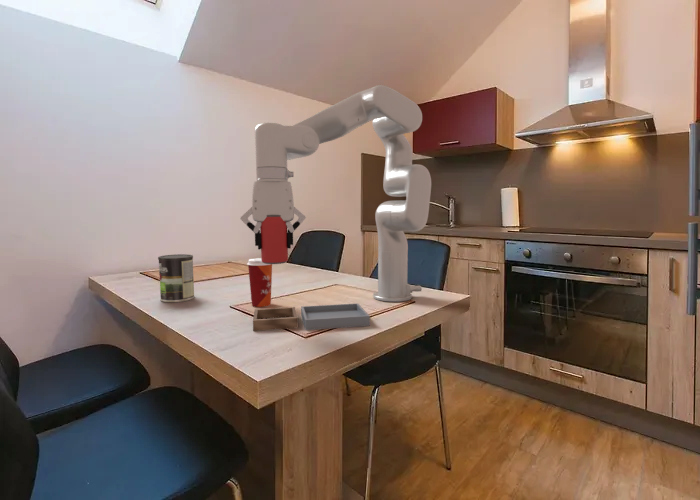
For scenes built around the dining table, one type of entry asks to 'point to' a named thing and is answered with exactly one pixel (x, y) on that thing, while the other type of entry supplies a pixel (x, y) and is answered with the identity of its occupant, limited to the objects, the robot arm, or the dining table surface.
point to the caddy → (275, 318)
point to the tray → (334, 316)
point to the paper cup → (260, 282)
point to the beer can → (274, 240)
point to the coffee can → (176, 277)
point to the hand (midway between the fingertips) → (274, 247)
